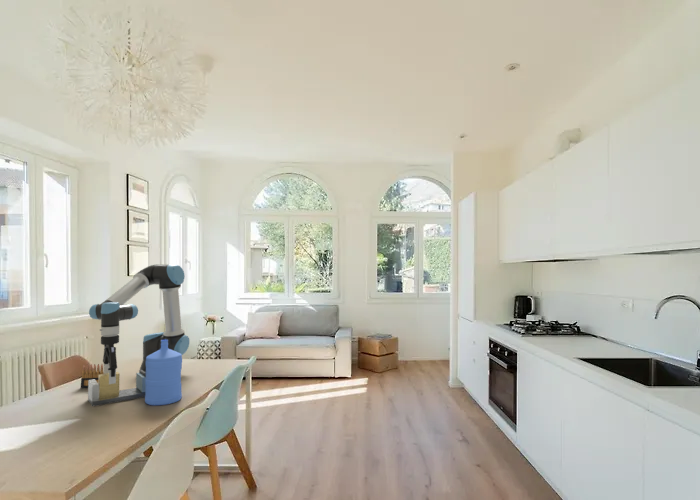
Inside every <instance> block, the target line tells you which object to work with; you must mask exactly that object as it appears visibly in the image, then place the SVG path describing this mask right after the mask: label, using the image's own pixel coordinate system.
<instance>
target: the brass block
mask: <svg viewBox="0 0 700 500" xmlns="http://www.w3.org/2000/svg"><path fill="white" fill-rule="evenodd" d="M98 384H99V398H104V397H110V396H116V395H119V391H120V372H119V371H116V383H114V384H109V373H107V374H100V375H99V379H98Z"/></svg>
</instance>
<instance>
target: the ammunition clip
mask: <svg viewBox="0 0 700 500" xmlns="http://www.w3.org/2000/svg"><path fill="white" fill-rule="evenodd" d="M81 370H82V371H81V378H80V379H81V380H80V389H88V380H92V379H95V380H96V381H97V383H98V379H99V375H100V374H104V363H101V365H100V364H99V363H98V364H97V366H96V364H90V366H89V364H88V363H87V364H86V365H85V364H83V365H82V369H81Z"/></svg>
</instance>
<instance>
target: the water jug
mask: <svg viewBox="0 0 700 500" xmlns="http://www.w3.org/2000/svg"><path fill="white" fill-rule="evenodd" d="M182 366H183V355H182V354H181V353H179V352H176V351H173V350H171V349H169V348H168V340H161V349H160V350H158V351H156V352H154V353H152V354H150V355H148V356H147V357H146V379H145V385H146V391H145V397H144V402H145V404H147V405H149V406H167V405H170V404H174V403H177V402H178V401H181V399H182V397H183V395H182V368H183V367H182Z"/></svg>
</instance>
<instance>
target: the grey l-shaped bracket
mask: <svg viewBox="0 0 700 500" xmlns="http://www.w3.org/2000/svg"><path fill="white" fill-rule="evenodd" d="M87 390H88V391H87V392H88V393H87V401H88V402H89V404H90V406H91V407H97V406H102V405H108V404H112V403H118V402H119V403H120V402H124V401H130V400H135V399H140V398H145V392H141V391H140V390H139V389H138V388H136V387H133V388H126V389H119V395H116V396H110V397H104V398H99V384H98V383H97V381H96V380H95V379H92V380H88V388H87Z"/></svg>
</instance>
